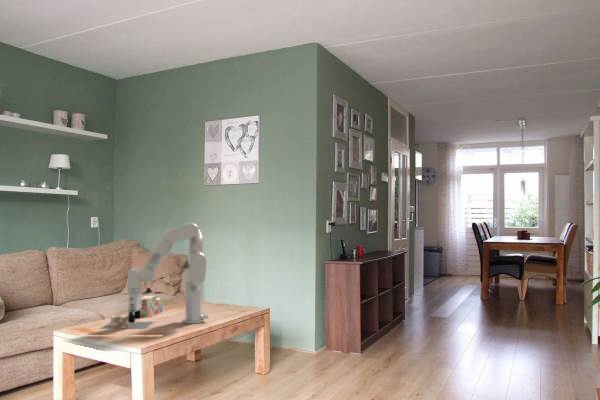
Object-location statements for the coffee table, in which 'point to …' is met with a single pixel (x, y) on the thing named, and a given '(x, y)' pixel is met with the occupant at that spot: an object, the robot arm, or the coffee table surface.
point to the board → (135, 326)
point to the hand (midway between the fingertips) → (134, 320)
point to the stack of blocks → (150, 306)
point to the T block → (121, 321)
